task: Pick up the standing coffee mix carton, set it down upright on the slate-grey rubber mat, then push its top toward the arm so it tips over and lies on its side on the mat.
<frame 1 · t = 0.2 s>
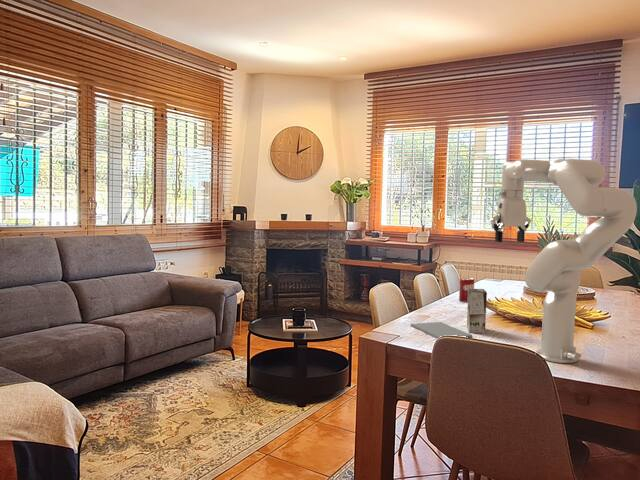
hand: (509, 241, 185), 36 cm above the table, tool pointing down, fingers open, 9 cm apart
coffee box: (475, 330, 199), on the table
mat: (440, 331, 196), on the table
soda can: (466, 301, 259), on the table
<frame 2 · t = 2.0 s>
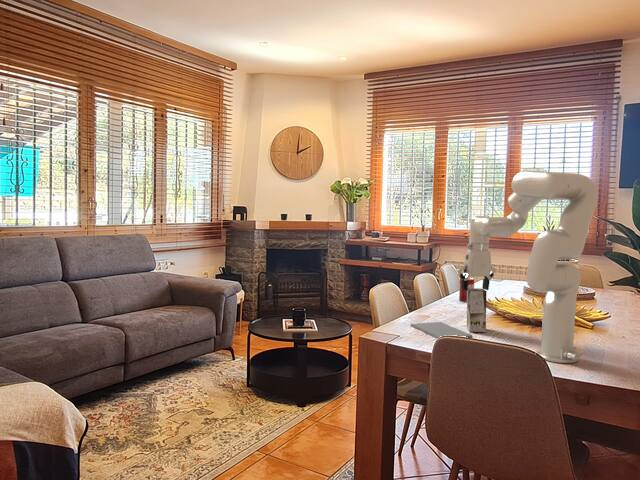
hand: (475, 289, 199), 16 cm above the table, tool pointing down, fingers open, 9 cm apart
coffee box: (476, 330, 199), on the table, touching gripper
everything else where it was.
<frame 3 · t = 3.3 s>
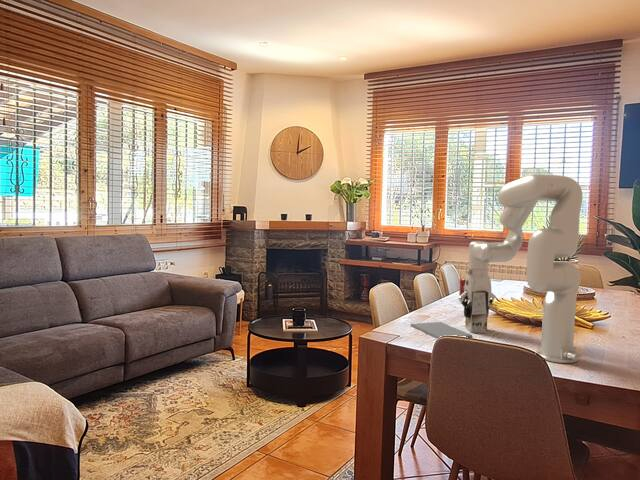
hand: (476, 316, 198), 6 cm above the table, tool pointing down, fingers closed on coffee box, 7 cm apart
coffee box: (475, 330, 199), on the table, touching gripper
everything else where it was.
when the fingers open (8 cm above the table, at t = 9.9 s): coffee box drops 1 cm, resting on mat.
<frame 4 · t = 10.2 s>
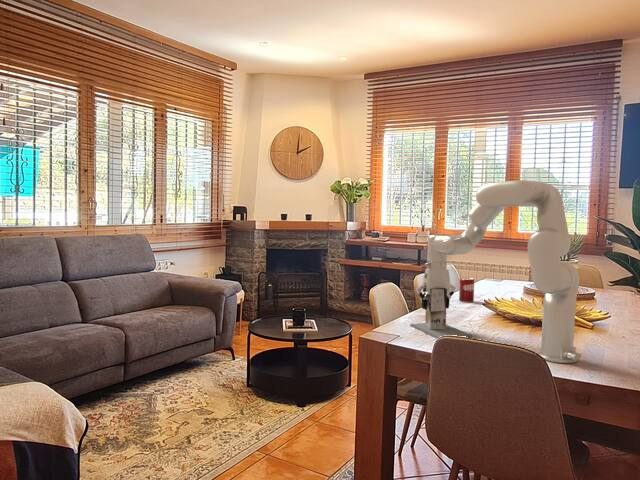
hand: (435, 308, 199), 8 cm above the table, tool pointing down, fingers open, 9 cm apart
coffee box: (435, 327, 199), point 1 cm above the table, touching mat
everything else where it was.
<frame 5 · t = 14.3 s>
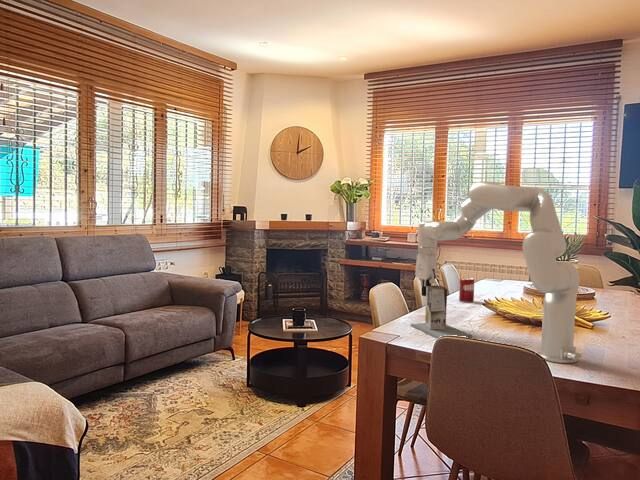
hand: (425, 295, 206), 12 cm above the table, tool pointing down, fingers closed
coffee box: (435, 327, 199), point 1 cm above the table, touching gripper, mat
everything else where it was.
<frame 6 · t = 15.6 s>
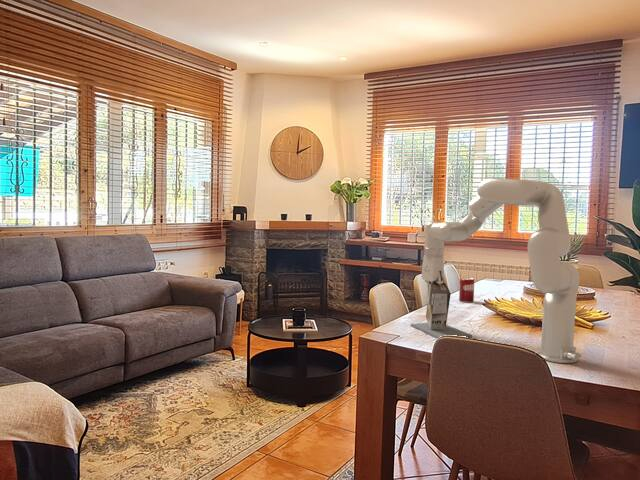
hand: (432, 298, 201), 12 cm above the table, tool pointing down, fingers closed
coffee box: (435, 324, 199), point 2 cm above the table, touching gripper, mat
everything else where it was.
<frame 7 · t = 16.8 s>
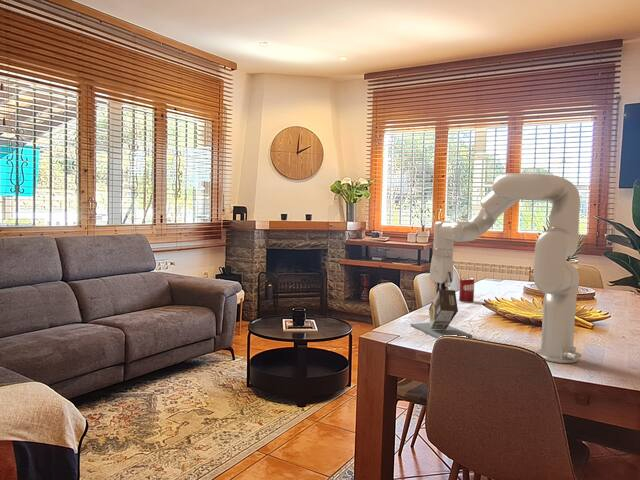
hand: (440, 299, 195), 13 cm above the table, tool pointing down, fingers closed
coffee box: (437, 319, 197), point 4 cm above the table, touching gripper, mat
everything else where it was.
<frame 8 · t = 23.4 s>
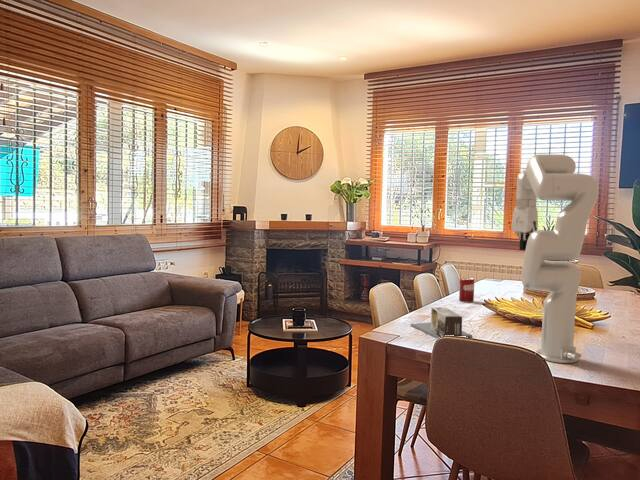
hand: (524, 250, 199), 32 cm above the table, tool pointing down, fingers closed
coffee box: (438, 318, 194), point 5 cm above the table, touching mat
everything else where it was.
at the end: coffee box tilted 91°; coffee box inside the target area (1.9 cm from its centre), point 5.4 cm above the table; coffee box touching mat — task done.
